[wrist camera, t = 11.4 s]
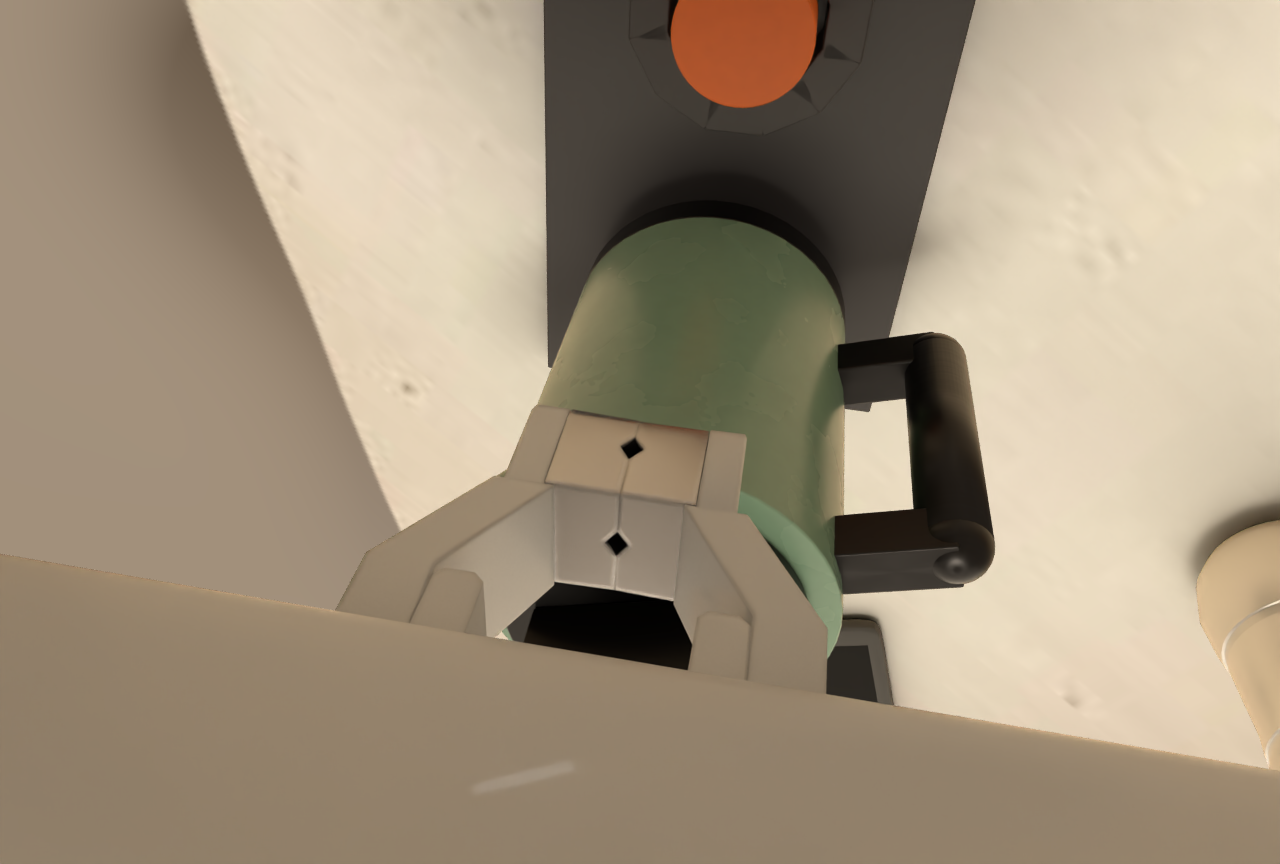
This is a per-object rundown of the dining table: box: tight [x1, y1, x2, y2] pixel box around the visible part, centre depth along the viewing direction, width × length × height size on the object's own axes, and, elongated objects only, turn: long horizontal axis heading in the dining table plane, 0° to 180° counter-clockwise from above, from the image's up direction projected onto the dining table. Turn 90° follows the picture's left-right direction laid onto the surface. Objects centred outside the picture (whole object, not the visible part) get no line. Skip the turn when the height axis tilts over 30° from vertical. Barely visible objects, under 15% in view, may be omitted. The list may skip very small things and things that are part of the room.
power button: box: [671, 0, 818, 108], centre depth 28 cm, size 4×4×2 cm
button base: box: [544, 0, 975, 412], centre depth 33 cm, size 18×13×3 cm
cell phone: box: [826, 619, 894, 706], centre depth 52 cm, size 7×14×1 cm, turn 15°
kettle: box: [497, 200, 995, 670], centre depth 28 cm, size 17×9×17 cm, turn 106°
